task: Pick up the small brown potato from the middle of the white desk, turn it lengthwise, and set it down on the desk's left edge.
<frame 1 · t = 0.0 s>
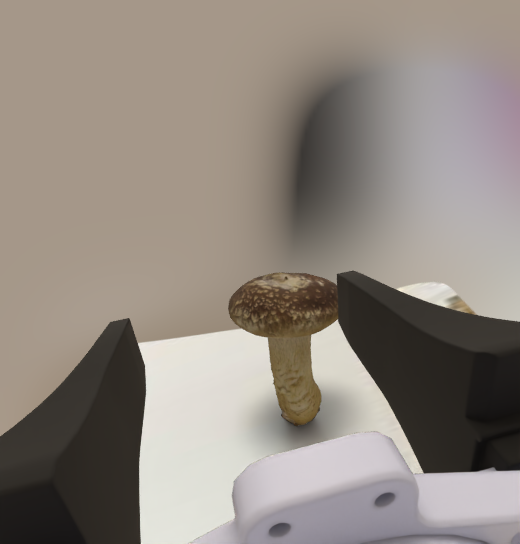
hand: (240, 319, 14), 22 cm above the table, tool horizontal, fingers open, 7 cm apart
mushroom: (301, 423, 39), on the table
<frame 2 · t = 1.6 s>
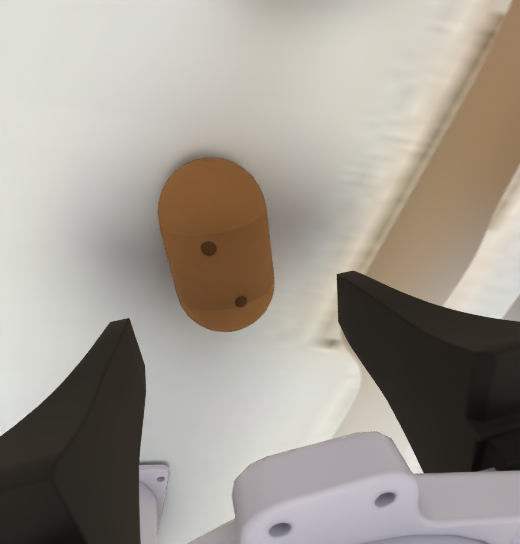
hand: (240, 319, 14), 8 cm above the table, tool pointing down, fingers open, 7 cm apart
potato: (213, 230, 22), on the table
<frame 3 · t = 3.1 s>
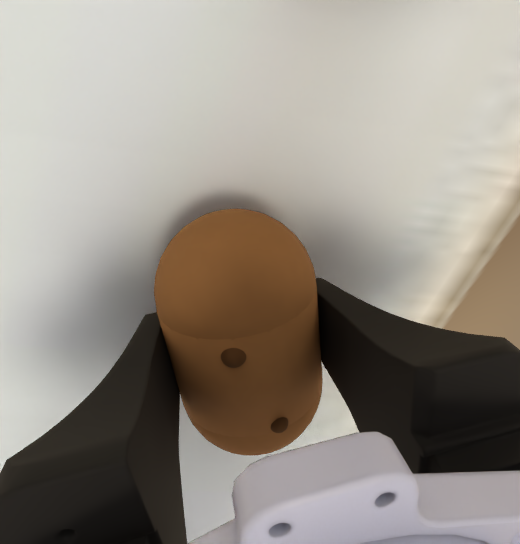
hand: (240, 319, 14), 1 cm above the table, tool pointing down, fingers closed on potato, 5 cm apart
potato: (233, 299, 15), on the table, touching gripper
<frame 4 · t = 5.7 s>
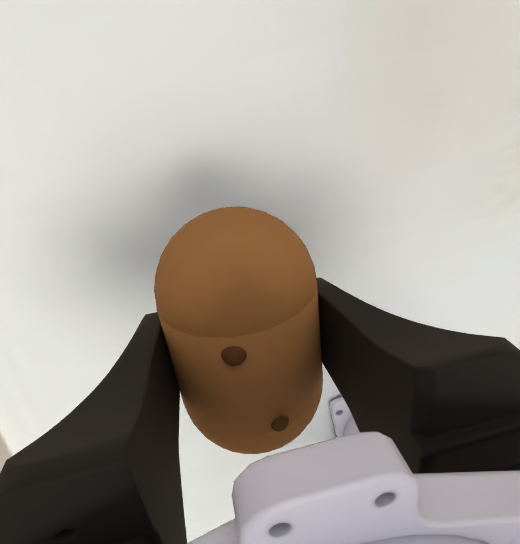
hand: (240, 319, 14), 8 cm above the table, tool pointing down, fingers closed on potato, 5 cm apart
potato: (233, 297, 15), point 7 cm above the table, touching gripper
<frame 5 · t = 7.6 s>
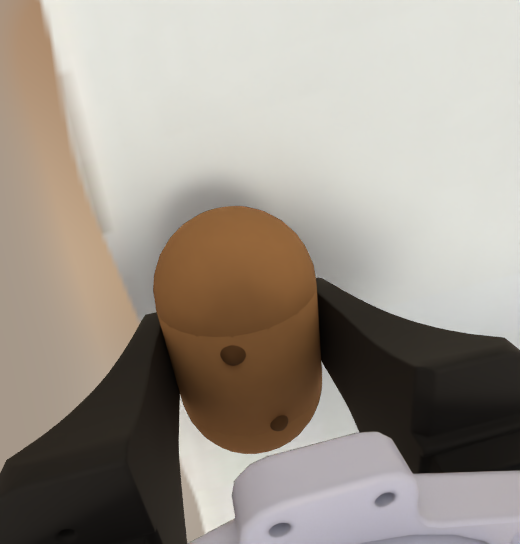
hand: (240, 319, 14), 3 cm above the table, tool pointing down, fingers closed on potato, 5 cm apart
potato: (232, 297, 15), point 2 cm above the table, touching gripper
when the fingers open (1 cm above the table, at t = 8.7 s): potato stays where it is, on the table.
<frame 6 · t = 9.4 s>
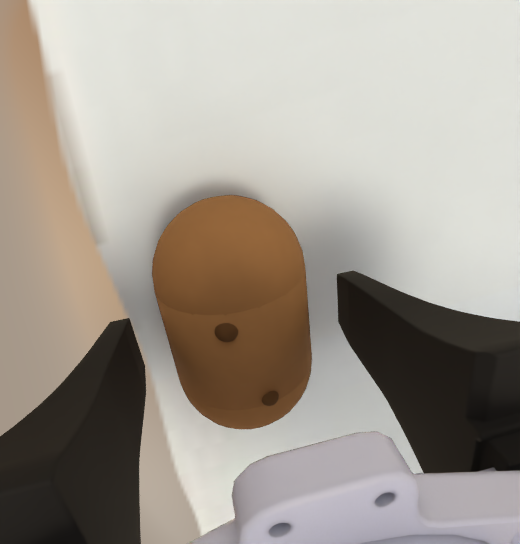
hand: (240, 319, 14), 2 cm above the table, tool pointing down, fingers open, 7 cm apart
potato: (227, 284, 16), on the table
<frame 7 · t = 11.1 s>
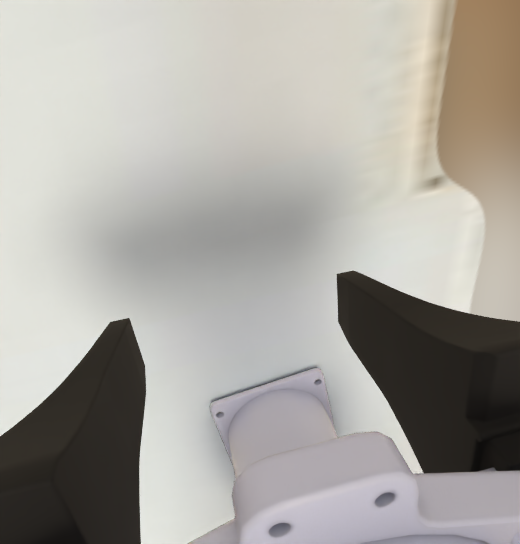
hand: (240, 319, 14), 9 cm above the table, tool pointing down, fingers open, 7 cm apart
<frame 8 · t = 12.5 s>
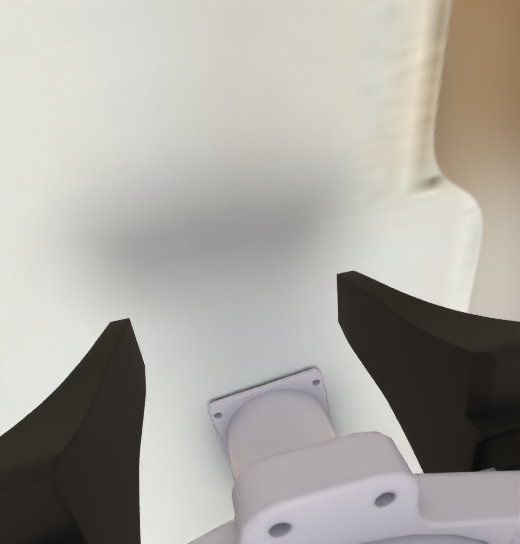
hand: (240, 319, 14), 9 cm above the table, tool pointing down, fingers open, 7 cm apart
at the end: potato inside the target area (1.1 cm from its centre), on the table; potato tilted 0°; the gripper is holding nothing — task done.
